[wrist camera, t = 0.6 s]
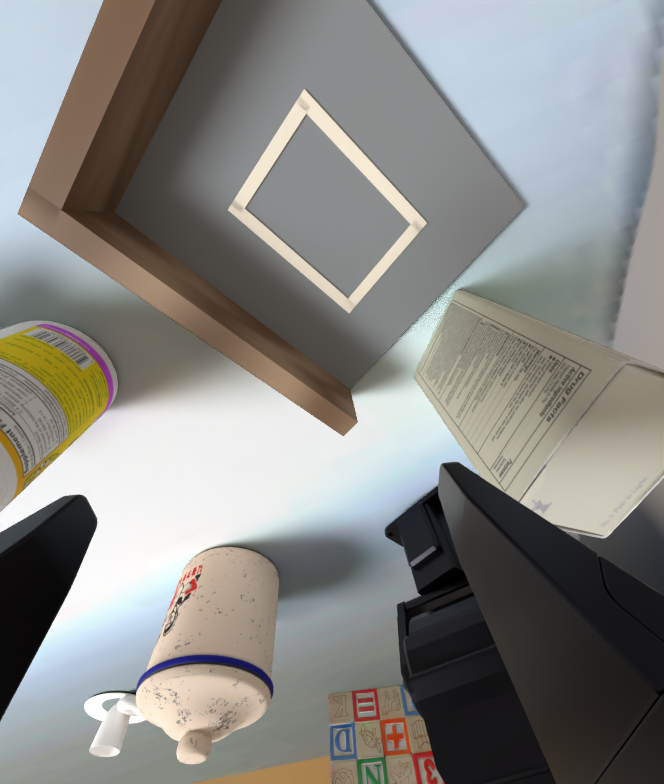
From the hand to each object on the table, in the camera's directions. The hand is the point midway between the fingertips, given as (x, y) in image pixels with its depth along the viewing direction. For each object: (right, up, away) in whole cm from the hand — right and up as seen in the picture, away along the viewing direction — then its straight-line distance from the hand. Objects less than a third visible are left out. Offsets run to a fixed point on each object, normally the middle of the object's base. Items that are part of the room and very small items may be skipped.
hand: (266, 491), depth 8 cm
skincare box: (+10, +6, +13) cm, 17 cm away
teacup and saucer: (-21, -36, +33) cm, 53 cm away
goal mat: (0, +12, +9) cm, 15 cm away
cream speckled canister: (-8, -15, +23) cm, 29 cm away
